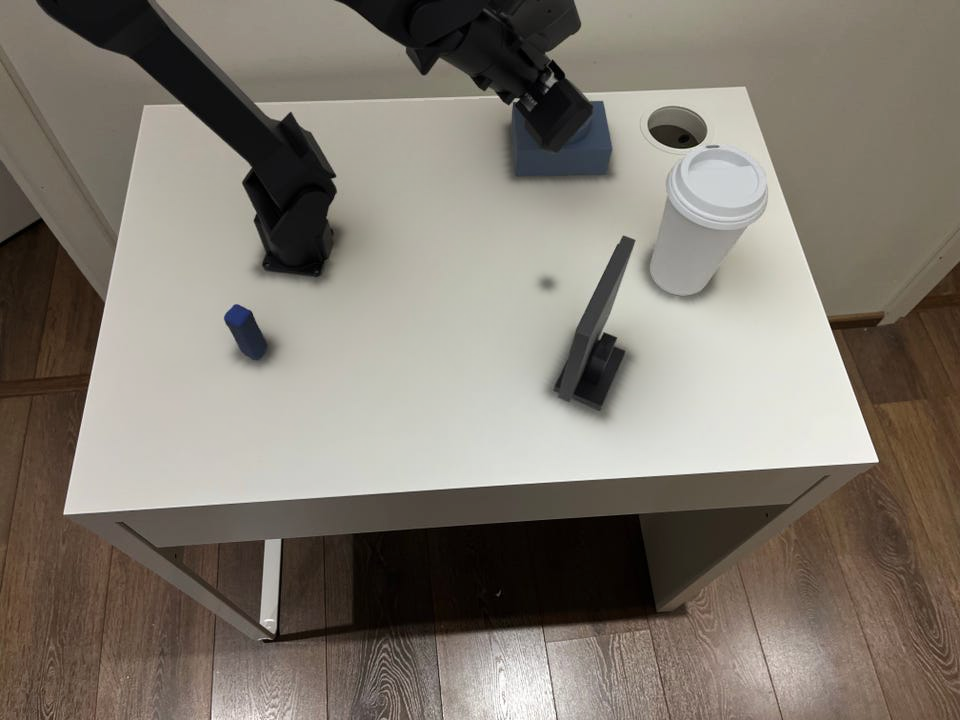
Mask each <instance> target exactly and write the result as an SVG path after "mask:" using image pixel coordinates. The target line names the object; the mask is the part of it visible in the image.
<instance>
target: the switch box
mask: <svg viewBox="0 0 960 720" xmlns="http://www.w3.org/2000/svg"><path fill="white" fill-rule="evenodd" d="M589 101H590V102H591V104H592V105H593V114H592V115H591V116H590V117H589V118H588V120H587V121H586V122H585V123H584V124H583V125H582V126H581V127H580V128H579V130H578V131H577V132H576V133H575V134H574V135H573V136H572V137H571V138H570V140H569V141H568V142H567V143H566V144H565V145H564V146H563V147H562V148H561V150H560V151H559V152H558V153H555V154H550V153H548V152H546V151H544V150H542V149H541V148H540V147H539V146H538V144H537V143H536V142H535V141H534V139H533V138H532V137H531V135H530V134H529V133H528V132H527V130H526V129H525V128H524V124H525V118H524V117H523V116H522V114H521V113H520V112H519V110H518V109H517V108H516V107H515V104H516V103H517V101H513V102H512V106H511V107H512V109H511V119H510V136H511V146H512V157H513V158H512V159H513V167H514V176H515V177H537V176H538V177H543V176H544V177H545V176H549V177H550V176H596V175H597V176H598V175H599V176H600V175H607V171H608V169H609V164H610V160H611V157H612V153H613V143H612V139H611V134H610V129H609V123H608V118H607V112H606V108H605V103H604V100H589Z"/></svg>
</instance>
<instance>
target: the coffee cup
mask: <svg viewBox="0 0 960 720" xmlns="http://www.w3.org/2000/svg"><path fill="white" fill-rule="evenodd" d="M665 189H666V194H667V196H666V199H665V204H664V209H663V212H662V216H661V220H660V224H659V228H658V231H657V236H656V240H655V244H654V247H653V252H652V256H651V260H650V264H649V272H650V276H651V278H652V280H653V281H654V283H655V284H656V285H657V286H658V287H659V288H660V289H662V290H663V291H665V292H666V293H668V294H671V295H675V296H682V297H683V296H691V295H695V294H697V293H699V292H701V291H702V290H703V289H704V288H705V287H706V286H707V284H708V283H709V282H710V280H711V279H712V277H713V276H714V274H715V273H716V272H717V270H718V269H719V268H720V265H721V264H722V263H723V262H724V260H725V259H726V258H727V256H728V254H730V252H731V250H732V249H733V248H734V246H735V245H736V243H737V242H738V241H739V239H740V238H741V236H742V235H743V234H744V232H746V229H747V228H748V227H749V226H750V225H752V224H754V223H756V222H757V221H758V220H759V219H760V218H761V217H762V216H763V214H764V213H765V211H766V208H767V206H768V201H769V187H768V179H767V174H766V172H765V170H764V168H763V166H762V165H761V163H760V162H759V161H758V160H757V159H756V158H755V157H754V156H753V155H751V154H750V153H748V152H747V151H745V150H743V149H741V148H739V147H737V146H736V147H735V146H732V145H729V144H724V143H723V144H722V143H708V144H704V145H703V144H702V145H699V146H697V147H695V148H694V149H691V150H690V151H689V152H688V153H687V154H685V155H683V156H682V157H680V158H679V159H678V160H677V161H676V162H675V163H674V165H673V166H672V167H671V168H670V170H669V172H668V173H667V176H666V179H665Z"/></svg>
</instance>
